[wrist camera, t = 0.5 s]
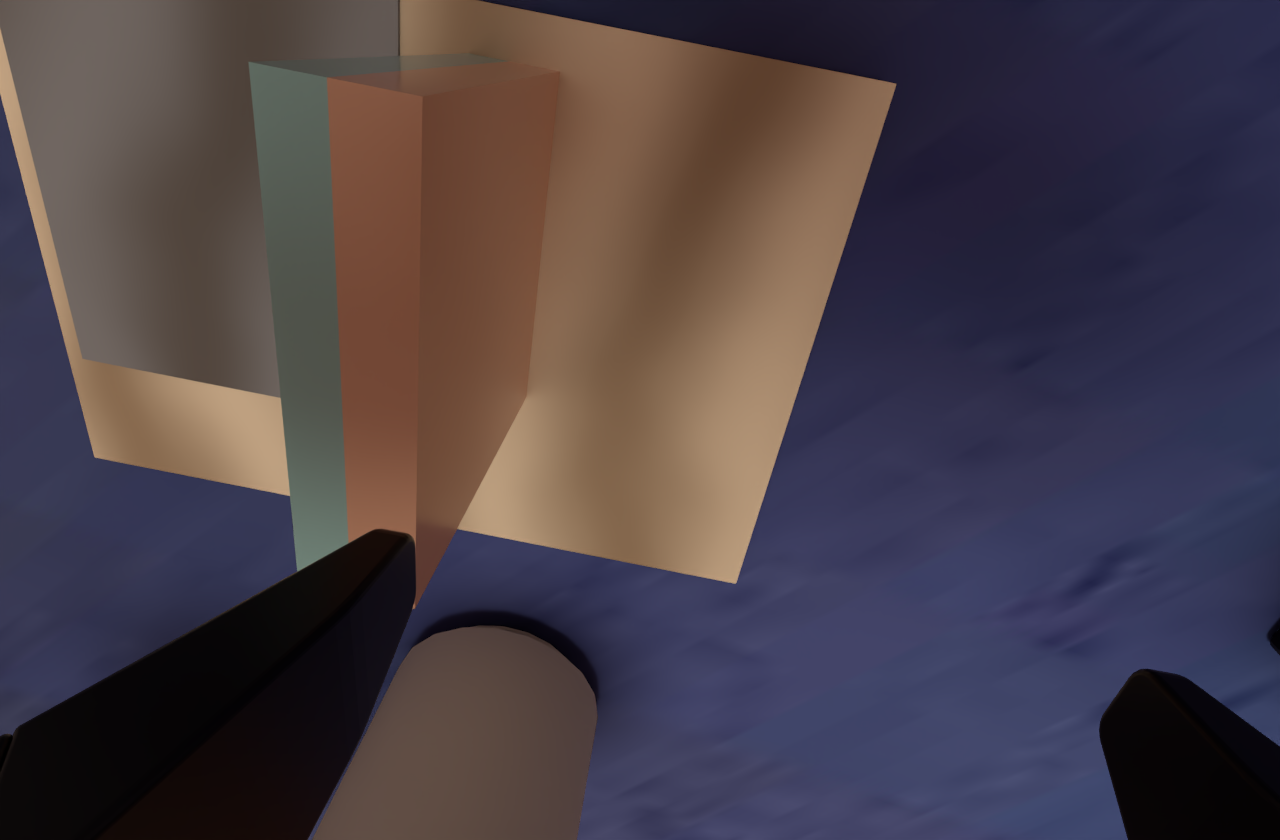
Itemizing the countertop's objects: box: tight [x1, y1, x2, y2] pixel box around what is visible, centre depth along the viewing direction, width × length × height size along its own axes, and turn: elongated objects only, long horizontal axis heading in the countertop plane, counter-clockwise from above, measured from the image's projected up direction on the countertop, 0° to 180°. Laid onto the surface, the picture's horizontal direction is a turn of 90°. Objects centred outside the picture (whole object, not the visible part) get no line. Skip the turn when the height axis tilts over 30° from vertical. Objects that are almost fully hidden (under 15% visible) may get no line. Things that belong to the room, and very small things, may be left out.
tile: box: [249, 53, 560, 609], centre depth 13 cm, size 2×8×8 cm, turn 170°
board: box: [0, 0, 896, 584], centre depth 18 cm, size 20×14×1 cm
